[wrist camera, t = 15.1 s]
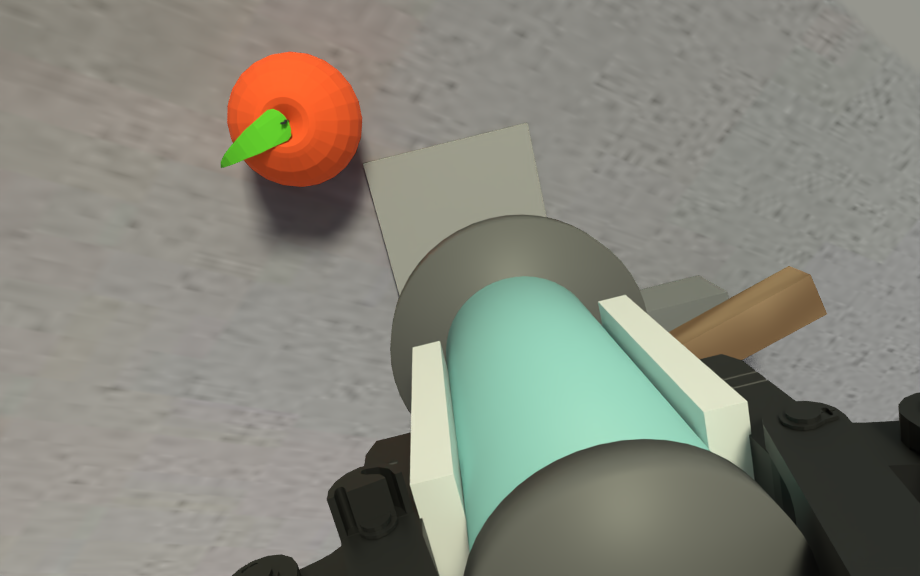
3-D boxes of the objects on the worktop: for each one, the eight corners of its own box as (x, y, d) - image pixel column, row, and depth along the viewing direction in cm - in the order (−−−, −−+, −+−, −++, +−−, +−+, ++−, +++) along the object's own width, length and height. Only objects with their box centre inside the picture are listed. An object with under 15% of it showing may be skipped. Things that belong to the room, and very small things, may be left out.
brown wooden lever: (535, 389, 38) (550, 423, 34) (772, 259, 37) (817, 277, 33) (554, 421, 39) (571, 458, 34) (787, 294, 37) (834, 317, 33)
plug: (424, 413, 25) (437, 894, 9) (372, 224, 23) (279, 452, 7) (615, 366, 25) (933, 772, 9) (580, 173, 23) (913, 295, 7)
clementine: (278, 211, 38) (248, 233, 32) (206, 110, 37) (158, 109, 30) (389, 140, 38) (384, 146, 31) (321, 33, 36) (299, 14, 29)
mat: (406, 317, 41) (406, 319, 40) (363, 163, 38) (363, 163, 38) (558, 280, 41) (559, 281, 40) (526, 122, 38) (527, 123, 38)
